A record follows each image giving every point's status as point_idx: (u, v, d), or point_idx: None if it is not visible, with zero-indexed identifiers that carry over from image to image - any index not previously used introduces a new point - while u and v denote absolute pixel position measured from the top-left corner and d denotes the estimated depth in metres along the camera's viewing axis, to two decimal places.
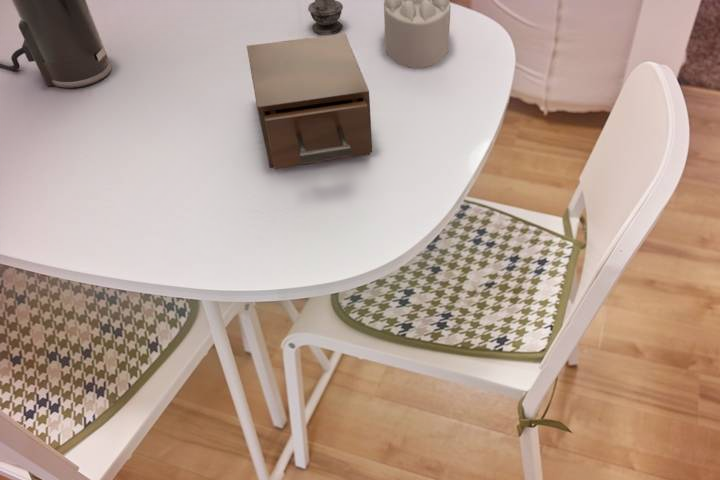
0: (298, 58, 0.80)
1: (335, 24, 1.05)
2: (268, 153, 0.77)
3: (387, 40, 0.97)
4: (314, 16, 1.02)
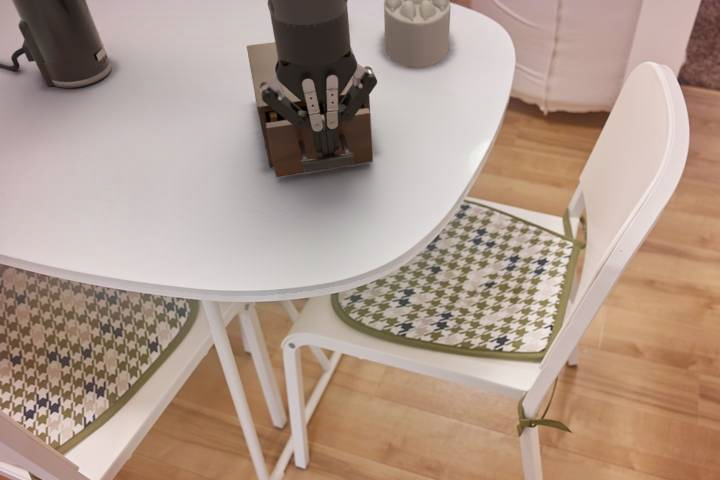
0: None
1: None
2: (268, 153, 0.77)
3: (387, 40, 0.97)
4: None
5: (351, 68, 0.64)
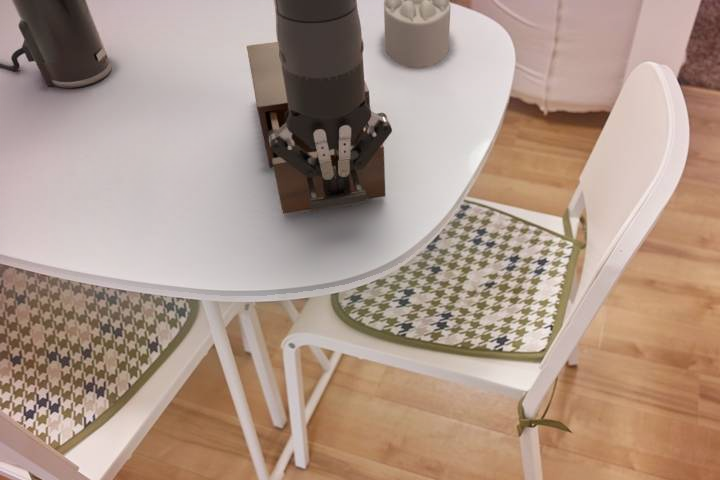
0: None
1: None
2: (268, 153, 0.77)
3: (387, 40, 0.97)
4: None
5: (365, 117, 0.60)
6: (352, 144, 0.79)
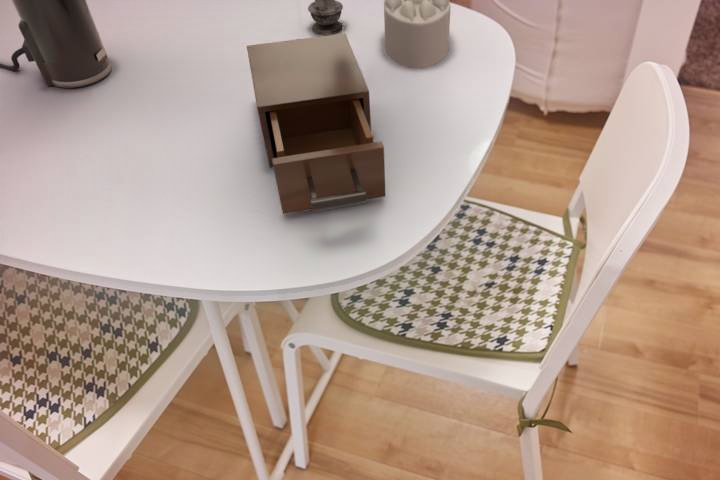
0: (298, 58, 0.80)
1: (335, 24, 1.05)
2: (268, 153, 0.77)
3: (387, 40, 0.97)
4: (314, 16, 1.02)
5: None
6: (352, 144, 0.79)
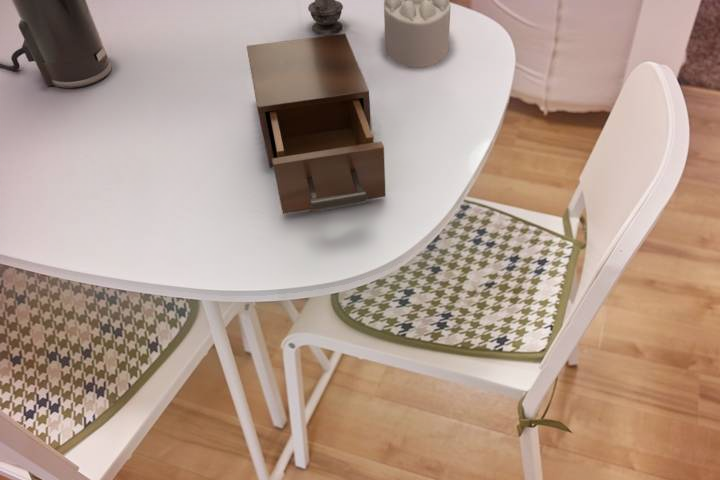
0: (298, 58, 0.80)
1: (335, 24, 1.05)
2: (268, 153, 0.77)
3: (387, 40, 0.97)
4: (314, 16, 1.02)
5: None
6: (352, 144, 0.79)
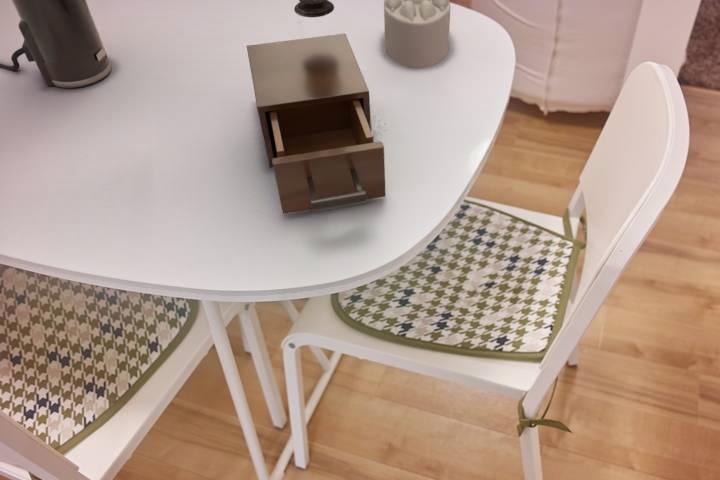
0: (298, 58, 0.80)
1: (321, 7, 0.80)
2: (268, 153, 0.77)
3: (387, 40, 0.97)
4: None
5: None
6: (352, 144, 0.79)
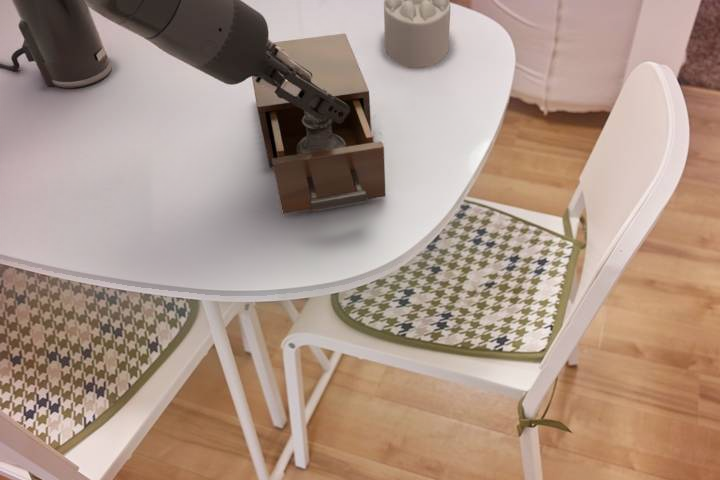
0: (298, 58, 0.80)
1: None
2: (268, 153, 0.77)
3: (387, 40, 0.97)
4: None
5: (270, 83, 0.60)
6: (352, 144, 0.79)
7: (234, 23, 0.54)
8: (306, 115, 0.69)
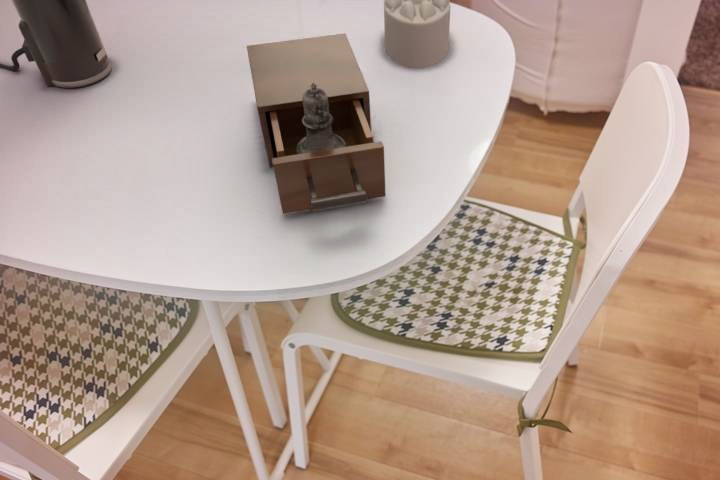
0: (298, 58, 0.80)
1: None
2: (268, 153, 0.77)
3: (387, 40, 0.97)
4: None
5: None
6: (352, 144, 0.79)
7: None
8: (306, 115, 0.69)
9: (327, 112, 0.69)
